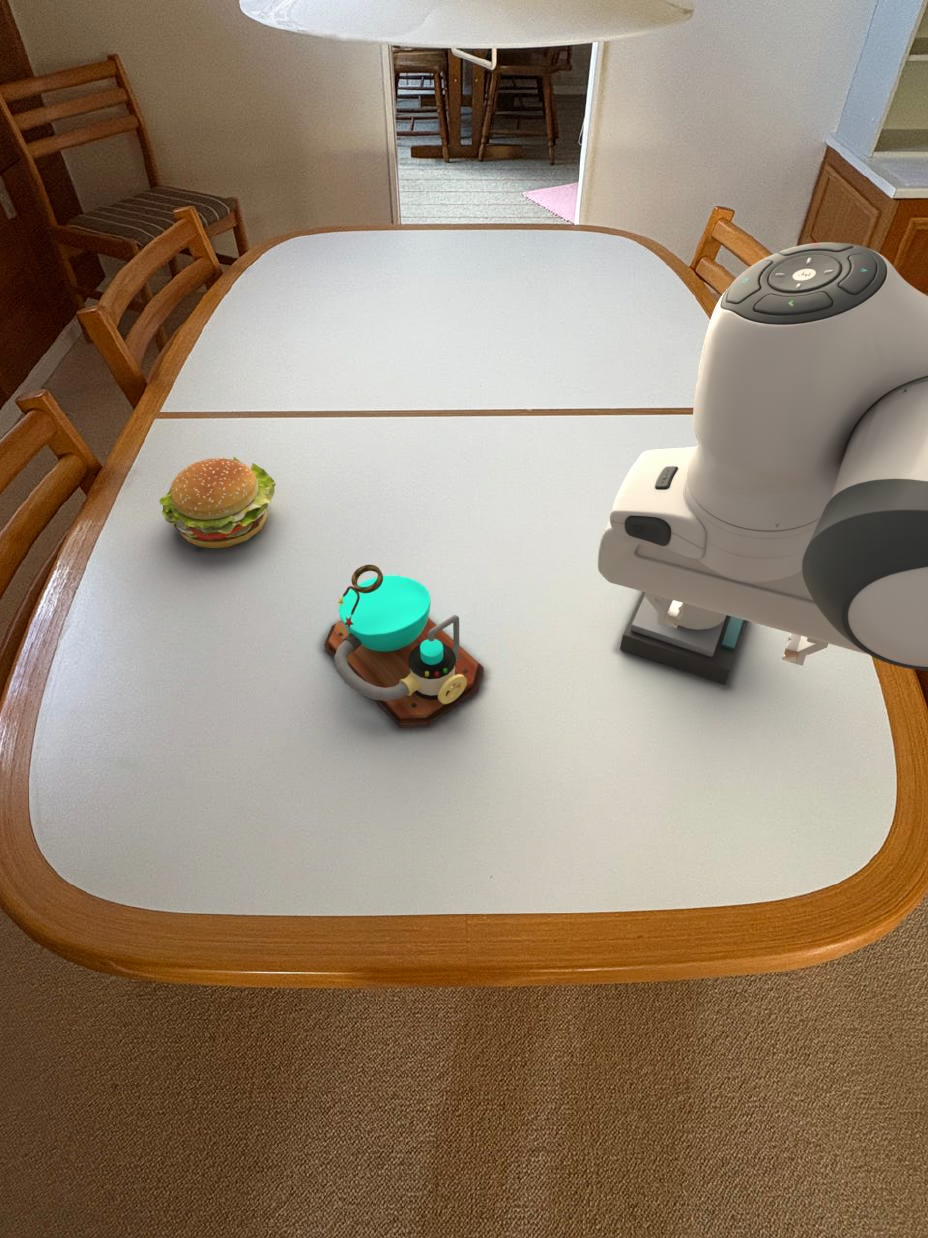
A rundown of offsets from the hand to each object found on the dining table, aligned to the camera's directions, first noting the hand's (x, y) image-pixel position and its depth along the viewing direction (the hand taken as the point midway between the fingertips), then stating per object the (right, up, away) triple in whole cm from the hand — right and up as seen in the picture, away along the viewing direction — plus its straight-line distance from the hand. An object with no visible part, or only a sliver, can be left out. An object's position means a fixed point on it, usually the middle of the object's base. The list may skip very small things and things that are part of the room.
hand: (730, 637), depth 60 cm
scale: (+5, 0, +31) cm, 32 cm away
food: (-52, +14, +44) cm, 70 cm away
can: (+5, +2, +29) cm, 29 cm away
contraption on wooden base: (-28, -4, +28) cm, 40 cm away
